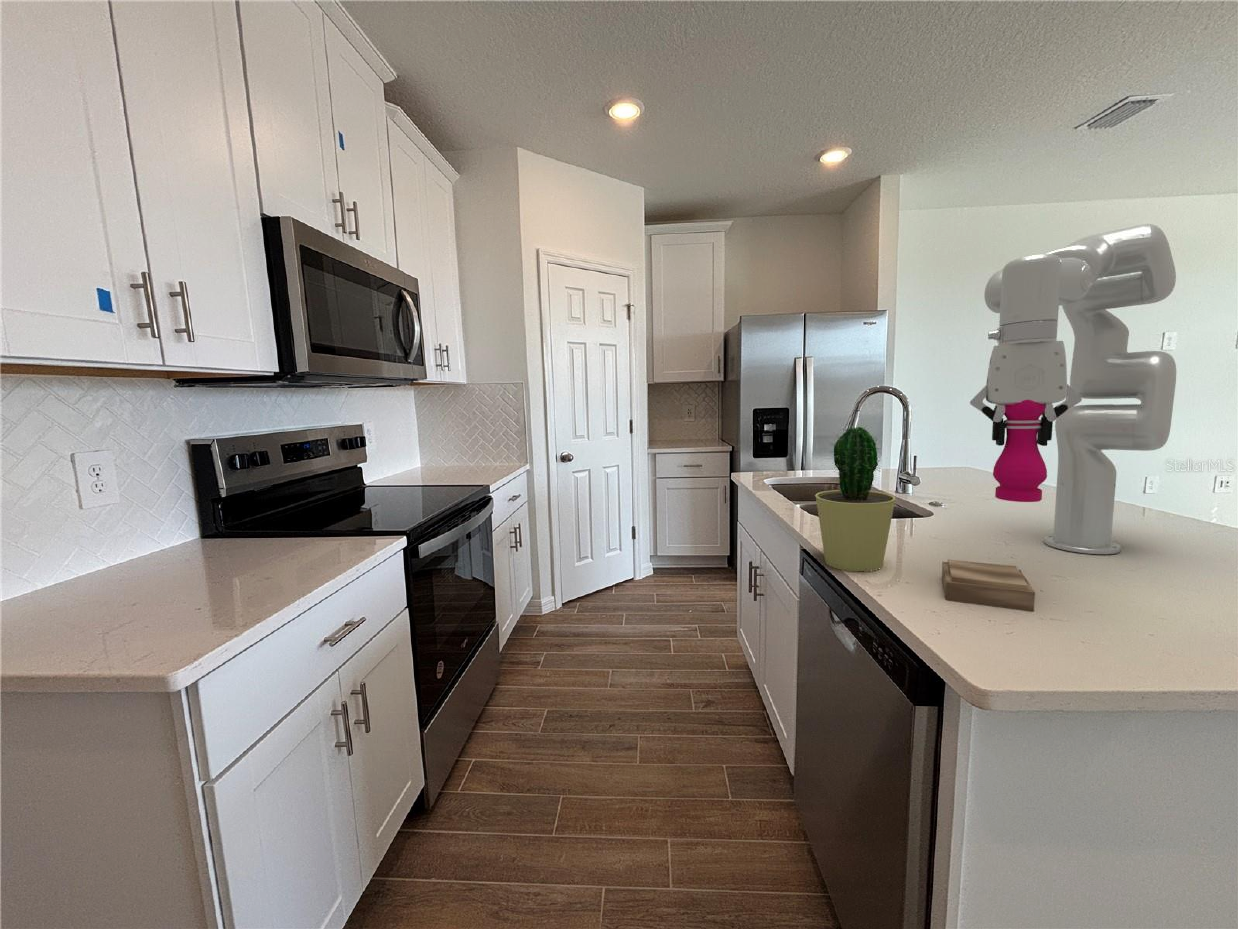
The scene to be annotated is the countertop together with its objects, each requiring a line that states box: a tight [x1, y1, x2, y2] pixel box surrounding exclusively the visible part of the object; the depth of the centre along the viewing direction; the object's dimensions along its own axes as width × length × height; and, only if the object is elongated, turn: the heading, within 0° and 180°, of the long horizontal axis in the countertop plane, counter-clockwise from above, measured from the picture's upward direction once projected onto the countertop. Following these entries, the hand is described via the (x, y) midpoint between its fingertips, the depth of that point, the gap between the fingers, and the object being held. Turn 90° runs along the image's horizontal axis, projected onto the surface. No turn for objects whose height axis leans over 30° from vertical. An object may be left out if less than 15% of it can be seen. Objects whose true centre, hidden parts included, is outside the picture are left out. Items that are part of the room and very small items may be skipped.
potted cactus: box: [814, 426, 896, 573], centre depth 107 cm, size 15×15×30 cm
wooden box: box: [941, 559, 1036, 612], centre depth 90 cm, size 12×12×4 cm
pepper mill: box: [992, 400, 1048, 503], centre depth 85 cm, size 7×7×20 cm
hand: (1020, 443), depth 85 cm, fingers closed on pepper mill, 5 cm apart
